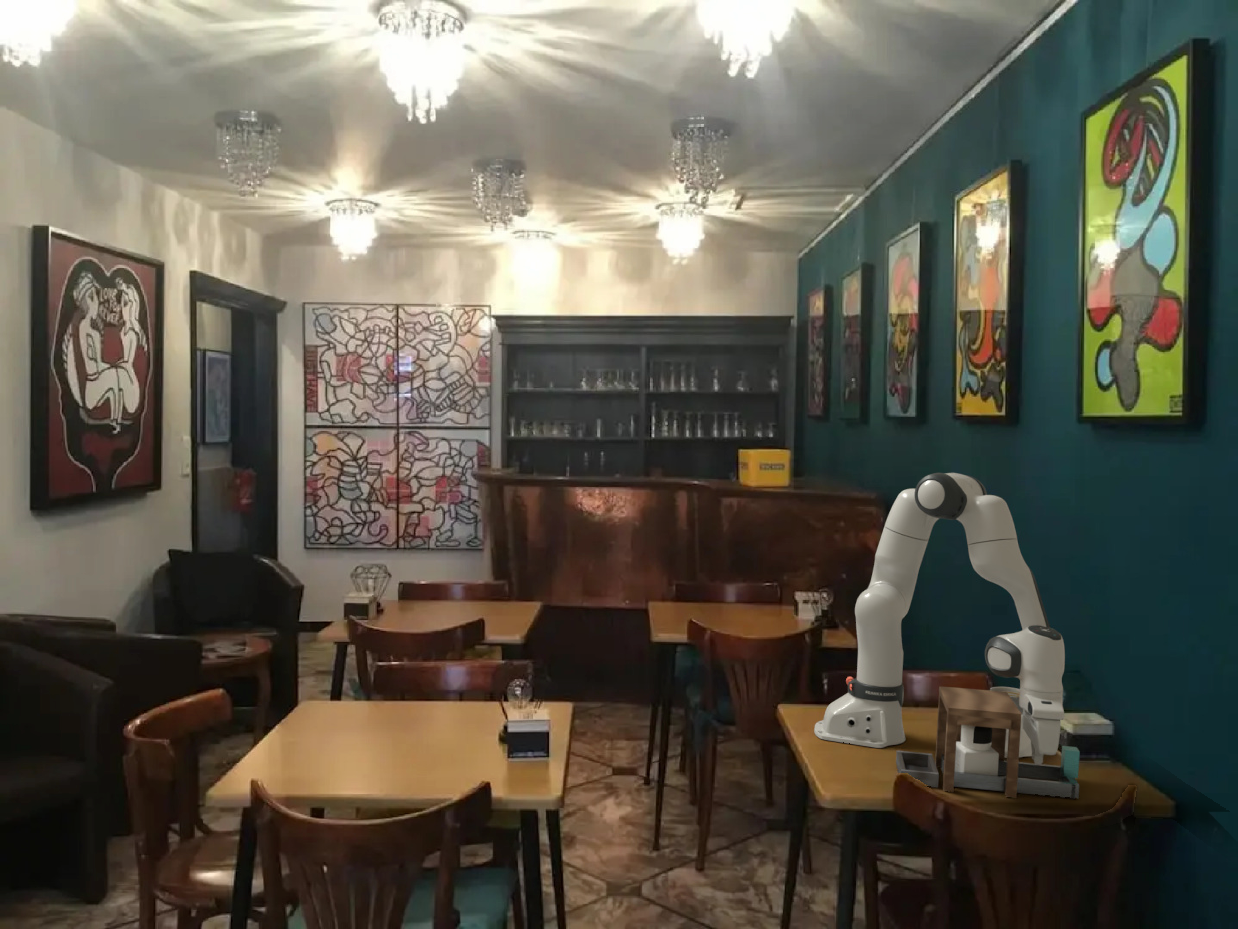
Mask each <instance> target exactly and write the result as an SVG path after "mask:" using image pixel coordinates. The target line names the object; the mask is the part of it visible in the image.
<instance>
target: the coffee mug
mask: <svg viewBox="0 0 1238 929" xmlns="http://www.w3.org/2000/svg"><path fill="white" fill-rule="evenodd" d="M989 690H990V691H1002V692H1007V693H1008V695H1009V696H1010V698H1011V699H1012V701H1013V702H1014V704H1015V705H1016V707H1017V708H1018V710H1019V711H1020V713H1021V715H1022V714H1023V708H1021V707H1020V706H1019V696H1020V688H1016V687H1009V686H993V687H990V689H989Z"/></svg>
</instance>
